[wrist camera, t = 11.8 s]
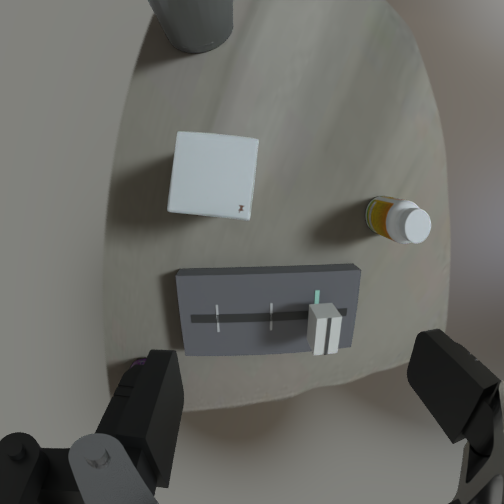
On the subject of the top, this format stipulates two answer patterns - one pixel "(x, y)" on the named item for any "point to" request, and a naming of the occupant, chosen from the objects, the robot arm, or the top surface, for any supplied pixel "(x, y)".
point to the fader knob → (323, 328)
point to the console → (261, 307)
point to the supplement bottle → (398, 220)
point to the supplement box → (213, 175)
